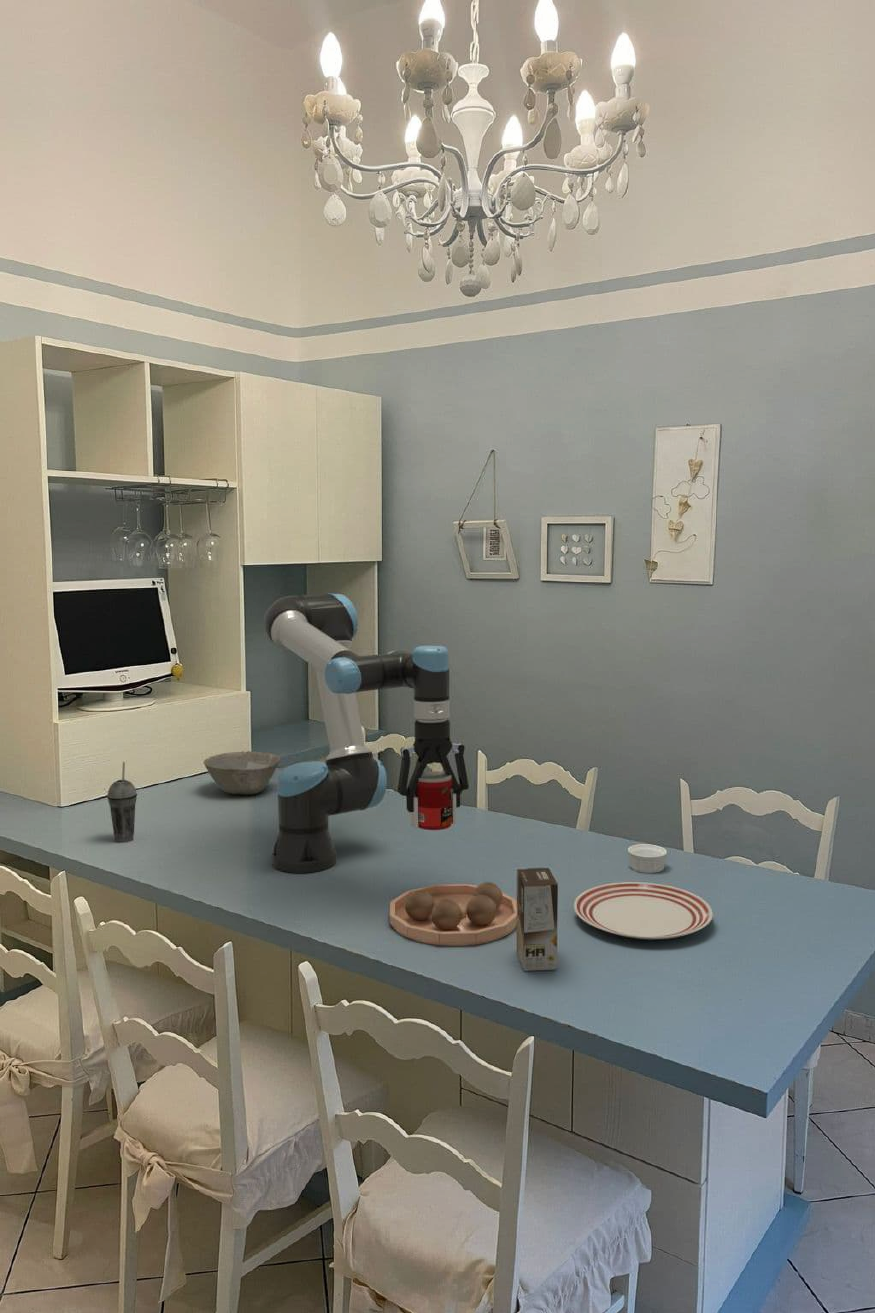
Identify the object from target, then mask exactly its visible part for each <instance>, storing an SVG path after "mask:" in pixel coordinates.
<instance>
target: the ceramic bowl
mask: <svg viewBox="0 0 875 1313" xmlns="http://www.w3.org/2000/svg"><path fill="white" fill-rule="evenodd" d="M280 760H281V758H280V756H279V755H276V754H272V753H270V752H260V751H259V752H258V751H251V750H248V751H244V750H243V751H236V752H235V751H234V752H231V751H230V752H226V753H225V752H224V753H220V754H215V755H212V756H209V757H208V758H205V759H204V760H203V765H204V767H205V769H206V770H207V772H208V774H209V775H210V776H211V778H212V779H213V781H214V782H215V783H216V785H217V786H218V787H219V788H221V789H222V790H223V791H225V793H228V794H231V795H242V796H243V795H247V796H249V795H255V794H258V793H260V792H262V791H264V790H265V788H266V787H267V785H268V784H269V782H270V780H271V778H273V776H274V774H275V771H276V769H277V767H278V764H279V763H280Z"/></svg>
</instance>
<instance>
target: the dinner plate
mask: <svg viewBox="0 0 875 1313" xmlns="http://www.w3.org/2000/svg"><path fill="white" fill-rule="evenodd" d="M573 910H574V912H575V914H576V915H577V916H578V917H579V919H581V920H582V921H583V922H584V923H586V924H588V925H589V926H592V927H593V928H597V929H599V930H602V931H604V932H606V933H609V934H613V935H618V936H621V937H625V938H632V939H638V940H639V939H641V940H666V939H675V938H679V937H684V936H687V935H689V934H690V935H691V934H693V933H695V932H698V931H700V930H701V929H704V928H705V927H707V926H708V925H709V924H710V923H711V922H712V919H713V914H714V913H713V909H712V907H711V906H710V904H709V903H708V902H707V901H706V900H704V899H703V898H702V897H700V896H698V895H697V894H695V893H692V892H690V891H688V890H685V889H682V888H679V887H676V886H671V885H666V884H660V883H653V882H645V881H644V882H639V881H626V882H612V883H611V882H610V883H606V884H602V885H597V886H595V887H591V888H589V889H587V890H585V891H583V892H581V893H580V894H579V895H578V896H577V897H576V898H575V900H574V903H573Z"/></svg>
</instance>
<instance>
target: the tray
mask: <svg viewBox="0 0 875 1313" xmlns="http://www.w3.org/2000/svg"><path fill="white" fill-rule="evenodd" d="M478 886H479V885H474V884H469V883H456V884H455V883H450V884H447V883H446V884H445V883H444V884H432V885H427V886H423V887H419V888H413V889H410V890H406V891H405V892H403V893H401V894H400V895H399V896H397V897H395V898H394V899H393V900H391V901H390V902H389V924H390V925H391V927H392V928H393V929H394V931H395V932H396V933H397V934H399V935H401V936H403V937H404V938H407V939H409V940H411V941H414V942H415V941H416V942H418V943H421V944H427V945H433V946H442V947H464V946H475V945H482V944H487V943H491V942H494V941H497V940H500V939H502V938H504V937H505V938H506V936H509V935H510V934H511V933H513V932H514V931H515V929H517V899H515V898H513V897H511V896H510V895H508V894H506V893H505V892H502V897H503V898H502V903H501V905H500V907H499V908H498V909H496V910H497V912H496V917H495V919H494V920H493V921H492V922H491V923H490V924H488V925H486V926H477V925H475V924H473V923H472V922H471V921H470V920H469V919H468V917H467V913H466V908H467V904H468V902H469V901H470V900H471V899H472V898H473V894H474V891H475V889H476V888H477V887H478ZM416 890H424V891H426V892H428V893H429V894H430V895H431V896H432V897H433V899H434V903H435V904H436V903H437V902H438V901H440V900H443V899H450V900H453V901H455V902H456V903H457V904H458V905H459V907H460V908H461V912H462V918H461V921H460V923H459V925H458V926H457V927H456V928H454V929H452V930H449V931H444V930H441V929H439V928H437V927H436V926H435V925H434V923H433V921H432V918H431V916H430V917H429V918H428V919H426V920H423V921H417V920H414V919H412V918H411V917H409V916H408V914H407V912H406V910H405V901H406V899H407V897H408V895H409V894H410V893H412V892H413V891H416Z"/></svg>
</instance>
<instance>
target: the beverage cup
mask: <svg viewBox="0 0 875 1313" xmlns="http://www.w3.org/2000/svg"><path fill="white" fill-rule="evenodd" d="M125 765H126V762H125V761H122V773H121V774H122V775H121V779H118V780H115V781H114V782H113V783H112V784H110V786H109V788H108V791H107V796H106V798H107V801H108V805H109V808H110V815H111V816H110V817H111V823H112V824H111V825H112V830H113V837H114V841H115V842H116V843H128V842H129V843H130V842H132V841H133V840H134V835H135V820H136V819H135V818H136V804H137V798H138V797H137V796H138V794H137V789H136V787H135V784H133V783H132V782H131V781H129V780H126V779H125V770H126V769H125V768H126V766H125Z"/></svg>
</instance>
